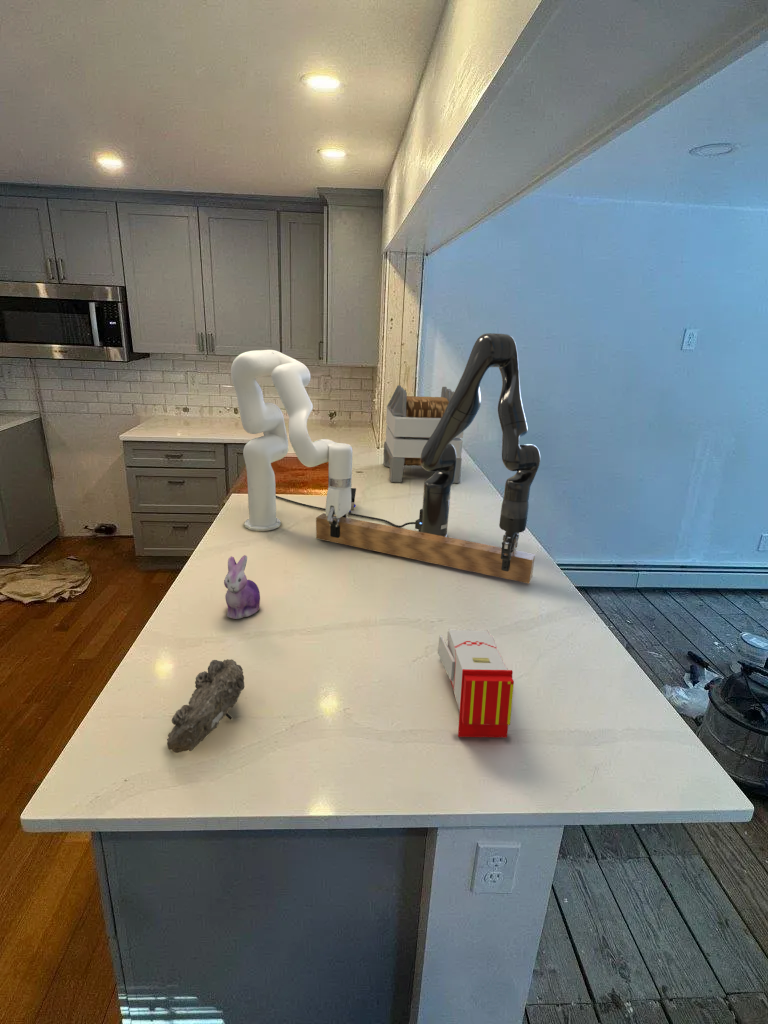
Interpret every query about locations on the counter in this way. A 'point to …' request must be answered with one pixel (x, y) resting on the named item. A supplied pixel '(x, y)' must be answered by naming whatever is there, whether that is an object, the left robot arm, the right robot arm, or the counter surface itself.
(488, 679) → the toy
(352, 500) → the figurine character
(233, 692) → the fossil
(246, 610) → the figurine
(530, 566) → the post
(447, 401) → the grey storage crate
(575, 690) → the counter surface
